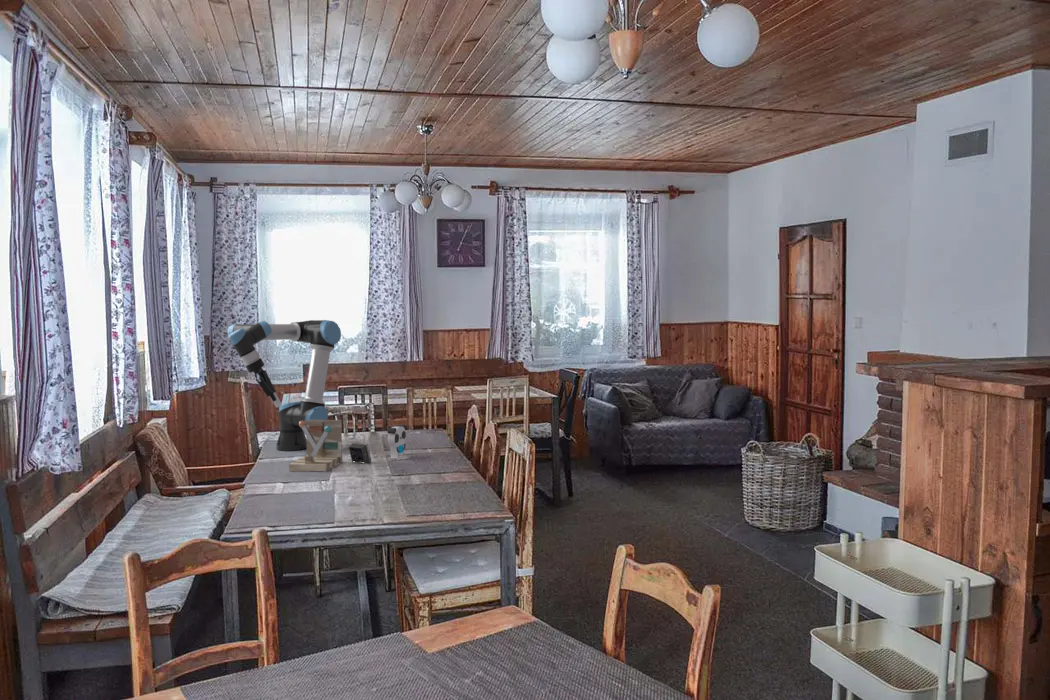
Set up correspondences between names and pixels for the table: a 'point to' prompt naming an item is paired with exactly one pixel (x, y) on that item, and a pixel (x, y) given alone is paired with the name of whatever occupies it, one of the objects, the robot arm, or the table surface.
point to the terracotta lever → (308, 434)
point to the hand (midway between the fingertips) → (279, 406)
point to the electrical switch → (359, 452)
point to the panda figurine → (396, 440)
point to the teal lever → (320, 442)
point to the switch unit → (329, 449)
